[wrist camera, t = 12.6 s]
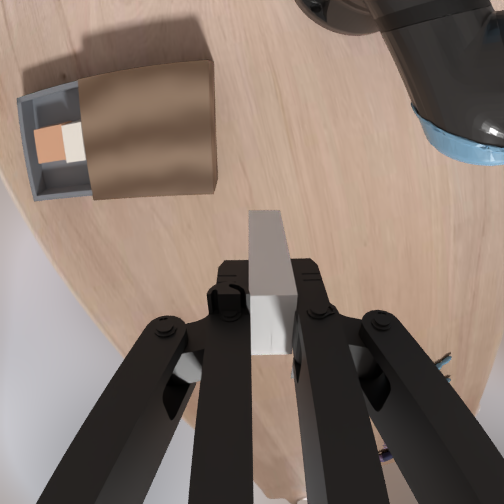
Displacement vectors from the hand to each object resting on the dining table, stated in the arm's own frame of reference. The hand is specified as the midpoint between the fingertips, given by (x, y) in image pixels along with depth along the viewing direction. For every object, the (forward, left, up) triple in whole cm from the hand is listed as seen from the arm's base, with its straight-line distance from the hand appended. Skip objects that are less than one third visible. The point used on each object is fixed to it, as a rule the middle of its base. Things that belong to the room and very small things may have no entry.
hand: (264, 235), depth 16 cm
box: (-2, -27, -28) cm, 39 cm away
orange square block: (-2, -28, -24) cm, 37 cm away
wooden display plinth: (-2, -13, -28) cm, 31 cm away
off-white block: (-2, -21, -25) cm, 33 cm away
